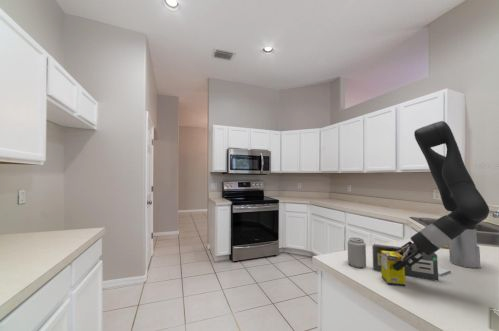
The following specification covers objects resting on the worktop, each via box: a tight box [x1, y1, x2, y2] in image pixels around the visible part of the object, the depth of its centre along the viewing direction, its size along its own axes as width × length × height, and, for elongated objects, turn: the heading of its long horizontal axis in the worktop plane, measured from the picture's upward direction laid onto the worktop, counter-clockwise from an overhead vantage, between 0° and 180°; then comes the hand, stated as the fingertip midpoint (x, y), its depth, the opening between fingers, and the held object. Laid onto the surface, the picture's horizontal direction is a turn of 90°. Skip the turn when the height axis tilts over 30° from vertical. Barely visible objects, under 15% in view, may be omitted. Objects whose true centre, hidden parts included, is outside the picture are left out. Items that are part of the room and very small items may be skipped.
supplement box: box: [381, 251, 406, 287], centre depth 80 cm, size 6×6×11 cm
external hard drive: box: [438, 266, 452, 277], centre depth 92 cm, size 2×8×12 cm
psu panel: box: [371, 243, 439, 282], centre depth 87 cm, size 22×4×11 cm, turn 65°
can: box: [347, 236, 367, 269], centre depth 95 cm, size 8×8×12 cm
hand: (393, 264), depth 80 cm, fingers open, 8 cm apart
